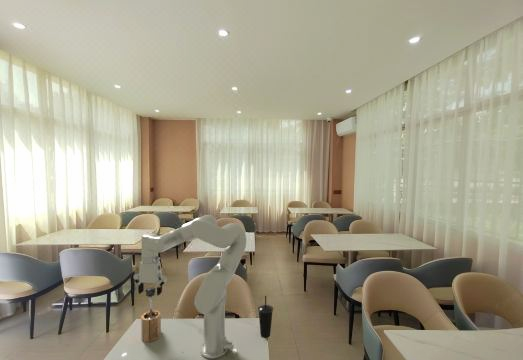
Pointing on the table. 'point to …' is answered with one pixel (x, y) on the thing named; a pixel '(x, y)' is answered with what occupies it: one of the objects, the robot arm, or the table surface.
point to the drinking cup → (265, 319)
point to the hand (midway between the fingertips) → (150, 293)
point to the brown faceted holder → (150, 326)
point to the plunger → (150, 300)
